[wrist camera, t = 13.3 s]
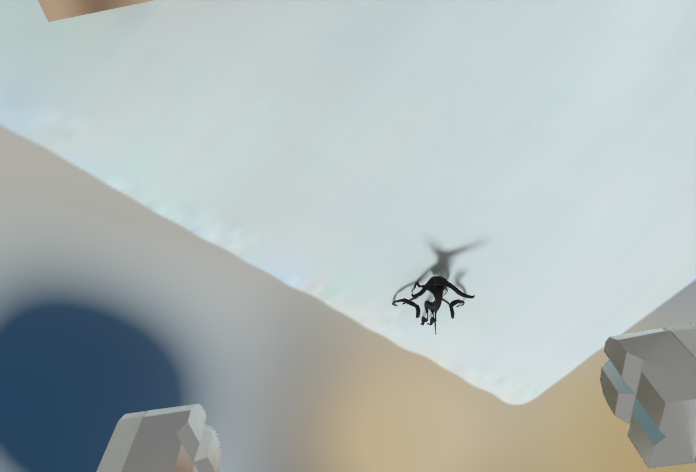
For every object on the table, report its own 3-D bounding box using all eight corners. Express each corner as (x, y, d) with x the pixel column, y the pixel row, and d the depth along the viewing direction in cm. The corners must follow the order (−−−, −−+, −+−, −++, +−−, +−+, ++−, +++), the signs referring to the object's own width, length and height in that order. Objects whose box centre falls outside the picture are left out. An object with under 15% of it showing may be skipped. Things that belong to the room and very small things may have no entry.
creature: (456, 311, 54) (474, 264, 48) (466, 352, 50) (487, 306, 44) (388, 310, 53) (398, 262, 48) (392, 351, 49) (404, 305, 44)
